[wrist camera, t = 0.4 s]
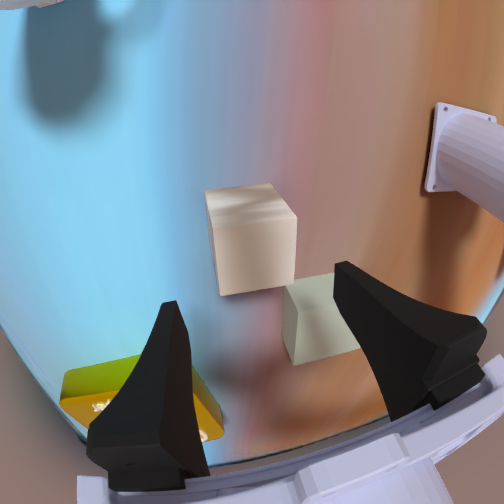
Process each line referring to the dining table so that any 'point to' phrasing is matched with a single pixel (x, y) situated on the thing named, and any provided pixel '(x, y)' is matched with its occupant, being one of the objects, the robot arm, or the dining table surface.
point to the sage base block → (314, 321)
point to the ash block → (251, 238)
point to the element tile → (110, 382)
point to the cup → (25, 3)
